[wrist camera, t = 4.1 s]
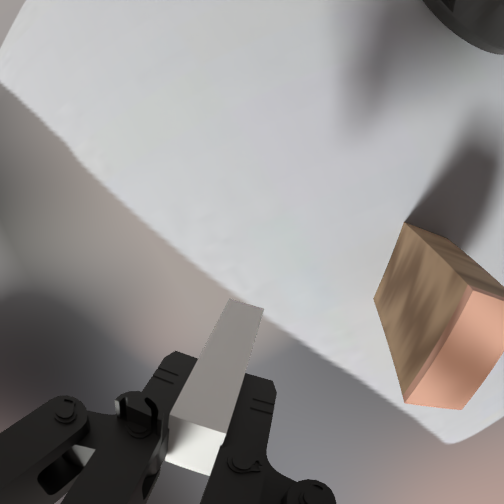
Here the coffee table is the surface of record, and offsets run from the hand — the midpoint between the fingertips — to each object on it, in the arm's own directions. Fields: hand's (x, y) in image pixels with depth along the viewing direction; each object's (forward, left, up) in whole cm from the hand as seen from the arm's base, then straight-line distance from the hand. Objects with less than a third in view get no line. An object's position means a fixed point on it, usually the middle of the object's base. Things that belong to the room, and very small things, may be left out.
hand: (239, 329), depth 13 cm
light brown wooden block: (0, +13, -16) cm, 21 cm away
